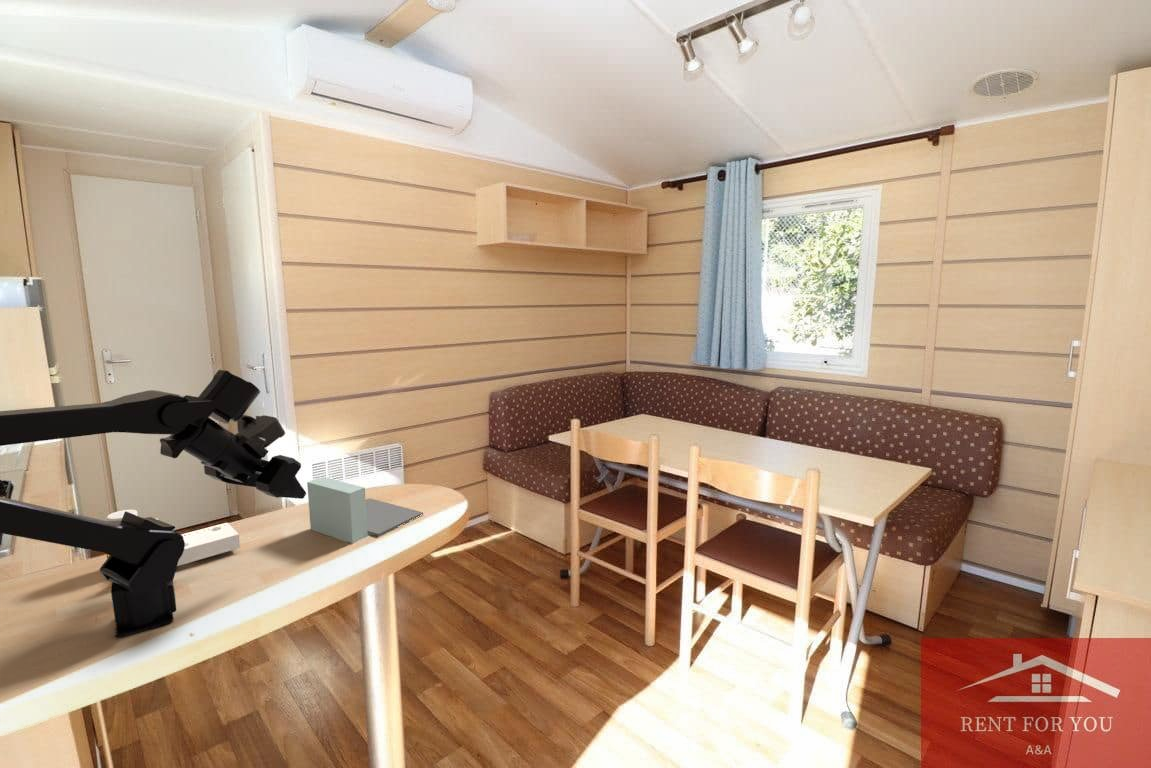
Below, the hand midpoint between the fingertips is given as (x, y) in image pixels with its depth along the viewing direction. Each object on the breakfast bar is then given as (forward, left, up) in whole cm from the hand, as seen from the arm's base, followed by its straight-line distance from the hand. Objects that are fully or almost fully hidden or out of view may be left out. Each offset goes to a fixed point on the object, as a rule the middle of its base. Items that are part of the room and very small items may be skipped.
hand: (287, 491), depth 99 cm
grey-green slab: (+9, +4, -12) cm, 16 cm away
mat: (+17, +8, -12) cm, 22 cm away
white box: (-14, +9, -12) cm, 21 cm away
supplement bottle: (-23, +11, -12) cm, 28 cm away
